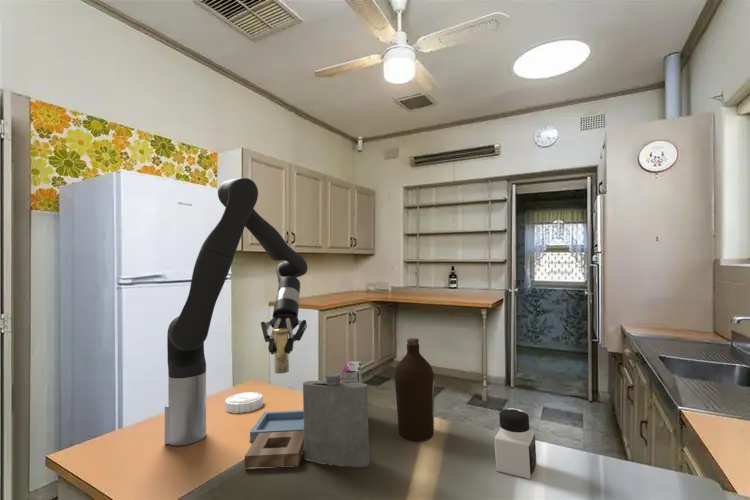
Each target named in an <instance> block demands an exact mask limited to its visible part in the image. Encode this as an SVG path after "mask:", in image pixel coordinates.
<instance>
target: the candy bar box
mask: <svg viewBox="0 0 750 500" xmlns="http://www.w3.org/2000/svg"><path fill="white" fill-rule="evenodd" d="M341 372H342V373H341V379H342V383H363V379H362V378H363V377H362V361H359V360H358V361H345V364H344V367H343V369H342V371H341Z"/></svg>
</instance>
